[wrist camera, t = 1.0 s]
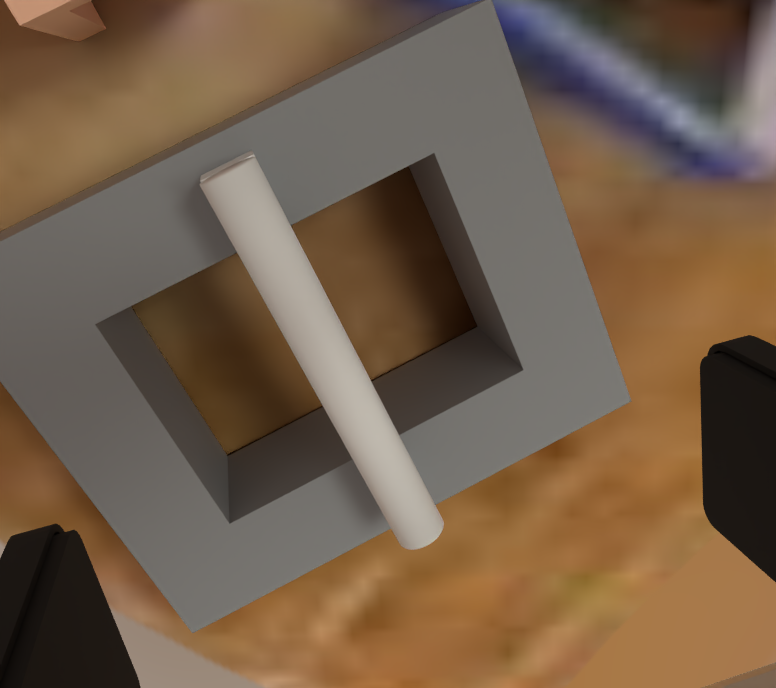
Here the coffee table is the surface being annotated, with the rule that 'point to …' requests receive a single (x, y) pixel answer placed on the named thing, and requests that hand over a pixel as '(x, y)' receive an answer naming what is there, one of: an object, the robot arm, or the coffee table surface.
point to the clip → (58, 17)
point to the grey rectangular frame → (310, 320)
